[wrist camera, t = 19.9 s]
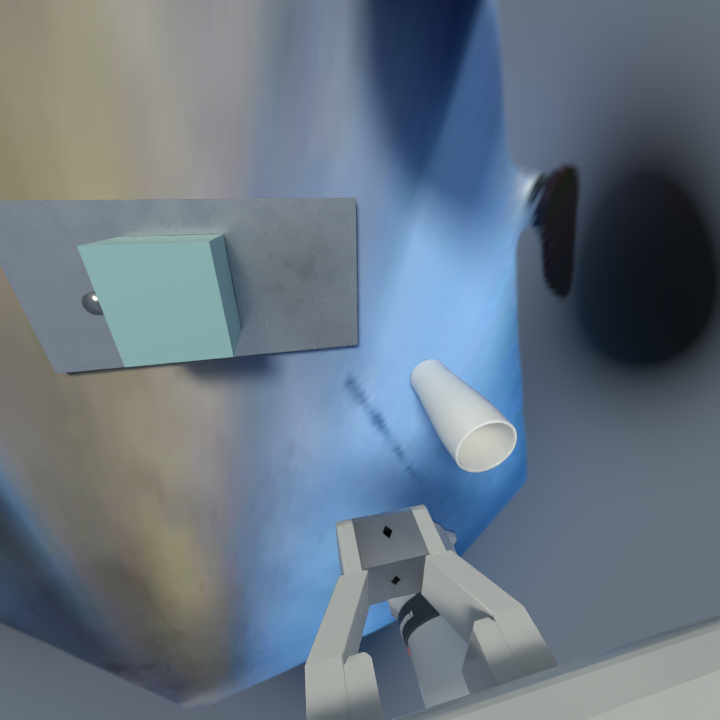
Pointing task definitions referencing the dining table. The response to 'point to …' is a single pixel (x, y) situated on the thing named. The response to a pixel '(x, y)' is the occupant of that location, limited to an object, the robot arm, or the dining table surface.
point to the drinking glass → (463, 418)
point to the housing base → (188, 217)
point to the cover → (165, 297)
